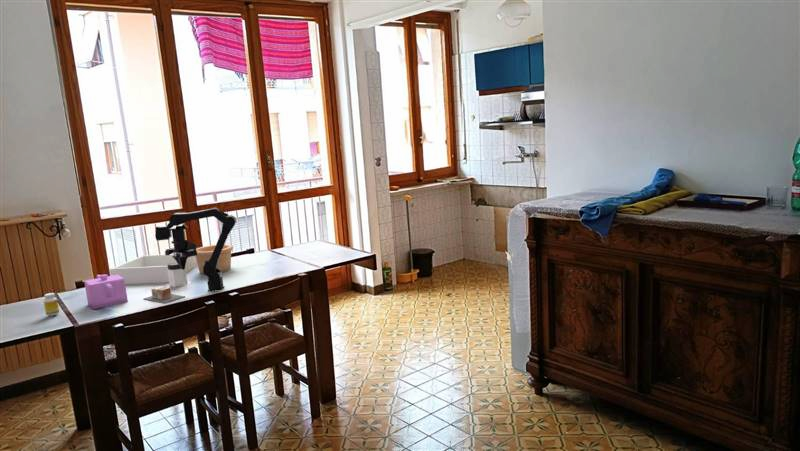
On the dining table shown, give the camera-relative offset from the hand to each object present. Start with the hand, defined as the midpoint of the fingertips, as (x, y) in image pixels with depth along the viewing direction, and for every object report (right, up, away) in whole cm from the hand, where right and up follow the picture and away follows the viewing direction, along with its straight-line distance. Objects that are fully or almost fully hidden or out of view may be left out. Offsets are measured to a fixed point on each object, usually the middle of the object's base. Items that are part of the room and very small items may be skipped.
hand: (183, 269), depth 287 cm
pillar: (-5, -11, -8) cm, 14 cm away
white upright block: (-10, -10, +19) cm, 23 cm away
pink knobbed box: (-35, -16, -6) cm, 39 cm away
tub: (-31, -7, +44) cm, 54 cm away
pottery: (+3, -5, +42) cm, 43 cm away
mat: (-7, -14, -6) cm, 16 cm away
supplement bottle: (-53, -19, -19) cm, 60 cm away
